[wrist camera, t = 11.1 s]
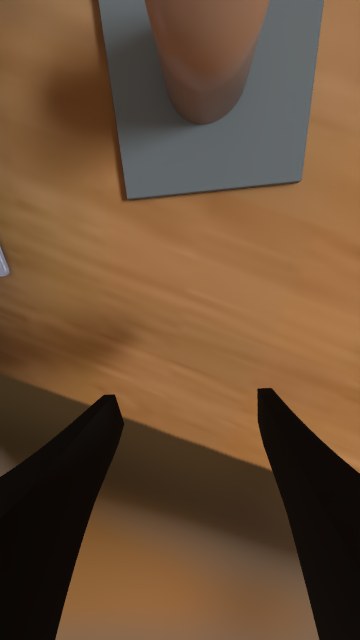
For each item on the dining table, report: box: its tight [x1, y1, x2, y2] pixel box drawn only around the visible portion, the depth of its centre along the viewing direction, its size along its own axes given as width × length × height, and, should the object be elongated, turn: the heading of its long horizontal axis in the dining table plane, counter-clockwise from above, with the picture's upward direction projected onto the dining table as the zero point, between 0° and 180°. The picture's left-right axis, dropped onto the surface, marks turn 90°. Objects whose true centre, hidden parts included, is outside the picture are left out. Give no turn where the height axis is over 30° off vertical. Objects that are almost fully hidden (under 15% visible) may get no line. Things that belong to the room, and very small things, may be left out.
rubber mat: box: [99, 0, 324, 200], centre depth 12 cm, size 12×12×1 cm
